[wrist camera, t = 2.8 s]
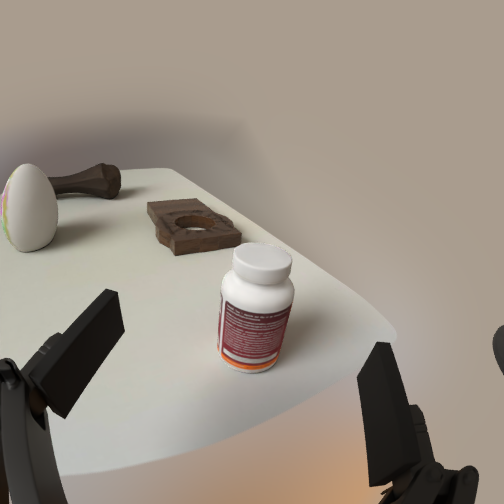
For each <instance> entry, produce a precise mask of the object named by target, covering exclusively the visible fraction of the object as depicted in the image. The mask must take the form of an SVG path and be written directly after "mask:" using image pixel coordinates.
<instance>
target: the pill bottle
mask: <svg viewBox="0 0 504 504" xmlns="http://www.w3.org/2000/svg"><path fill="white" fill-rule="evenodd" d="M291 265H292V257H291V255H290V254H289V253H288V252H287V251H286V250H284V249H282V248H280V247H278V246H275V245H272V244H267V243H260V242H250V243H244V244H241V245H239V246H237V247H236V248H235V249H234V252H233V258H232V268H233V269H231V270H230V271H229V272H227V274H226V275H225V276H224V278H223V280H222V285H221V297H220V311H219V326H218V342H217V348H218V353H219V356H220V358H221V359H222V361H223V362H224V363H225V364H226V365H228V366H229V367H231V368H232V369H234V370H237V371H240V372H244V373H258V372H262V371H265V370H267V369H269V368H270V367H271V366H273V365H274V364H275V362H276V361H277V359H278V356H279V353H280V349H281V346H282V342H283V338H284V334H285V331H286V327H287V323H288V319H289V315H290V311H291V307H292V303H293V298H294V286H293V283H292V281H291V280H290V279H289V277H288V276H289V275H290V272H291Z"/></svg>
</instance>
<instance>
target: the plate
mask: <svg viewBox="0 0 504 504" xmlns="http://www.w3.org/2000/svg"><path fill="white" fill-rule="evenodd" d="M147 213H148V215H149V216H150V218H151V219H152V221H153V223H154V224H155V226H156V237H157V239H158V241H159V242H160V243H161V244H163V245H165V246H167V247H168V248H170V249H171V251H172V252H173V254H174V255H175V256H176V255H183V254H190V253H196V252H206V251H213V250H218V249H223V248H230V247H237V246H239V245H240V244H241V235H242V233H241V232H240V231H238V230H237V229H236V228H234V225H233V222H232V221H231V220H230V219H228V218H227V217H226V216H223V215H220V214H217V213H215V212H213V211H212V210H211V209H210V208H208V207H207V206H206V205H204V204H203V203H202V202H200V201H199V200H198V199H197V198H194V199H180V200H167V201H156V202H147ZM187 227H200V228H205V230H187V229H183V228H187Z"/></svg>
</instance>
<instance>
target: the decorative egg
mask: <svg viewBox="0 0 504 504" xmlns="http://www.w3.org/2000/svg"><path fill="white" fill-rule="evenodd" d="M1 221H2V226H3V230H4V232H5V235H6V237H7V239H8V240H9V242H10V243H11V244H12V245H13V246H14V247H15V248H16V249H17V250H19V251H22V252H29V251H35V250H38V249H40V248H42V247H44V246H46V245H47V244H49V243H50V242H51V240H52V239H53V237H54V234H55V232H56V228H57V223H58V205H57V200H56V196H55V193H54V190H53V187H52V185H51V183H50V181H49V180H48V178H47V177H46V176H45V174H44V173H43V172H42V171H41V170H40V169H39V168H38V167H36V166H34V165H32V164H24V165H22V166H20V167H18V168H17V169H16V170H15V171H14V172H13V173H12V175H11V176H10V178H9V180H8V182H7V184H6V186H5V189H4V192H3V196H2V202H1Z"/></svg>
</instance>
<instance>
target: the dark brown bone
mask: <svg viewBox="0 0 504 504" xmlns="http://www.w3.org/2000/svg"><path fill="white" fill-rule="evenodd" d="M47 178H48V180H49V181H50V183H51V185H52V187H53V190H54V193H55V195H58V194H63V193H87V194H92V195H97V196H100V197H104V198H107V199H112V198H114V197H115V196H116V195H117V194H118V192H119V190H120V188H121V174H120V171H119V169H118V168H117V167H116V166H114V165H106V164H104V163H101V164H98V165H96V166H94V167H91V168H89V169H87V170H85V171H82V172H80V173H77V174H74V175H70V176H65V177H47Z"/></svg>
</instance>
